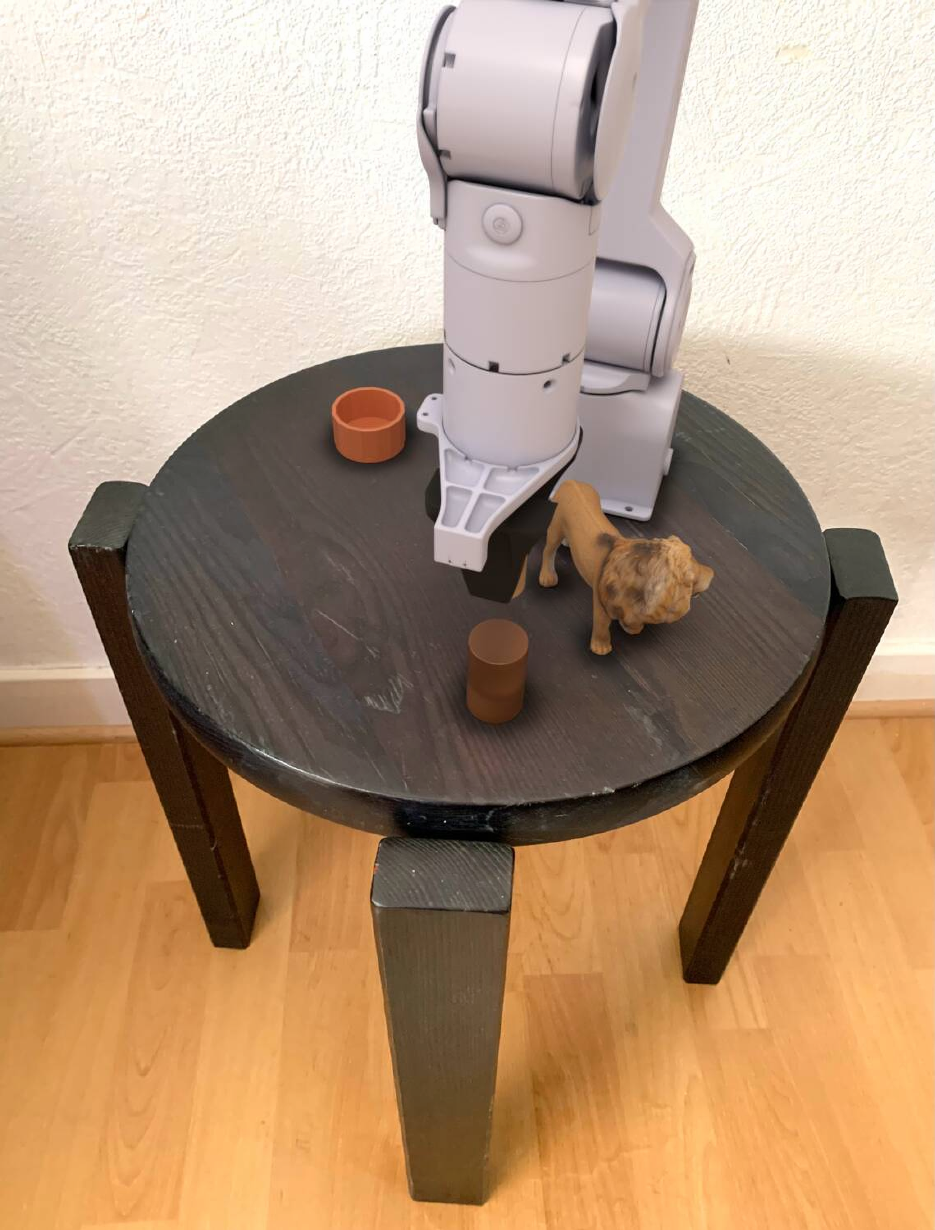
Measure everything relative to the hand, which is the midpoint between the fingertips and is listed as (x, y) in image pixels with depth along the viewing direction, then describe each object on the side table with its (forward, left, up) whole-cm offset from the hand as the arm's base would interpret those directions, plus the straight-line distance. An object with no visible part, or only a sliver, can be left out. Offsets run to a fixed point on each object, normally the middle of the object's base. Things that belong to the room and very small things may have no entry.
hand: (499, 572), depth 52 cm
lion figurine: (-4, -9, -10) cm, 14 cm away
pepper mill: (0, 0, -1) cm, 1 cm away
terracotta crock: (+15, -19, -10) cm, 26 cm away
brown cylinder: (0, 0, -10) cm, 10 cm away
